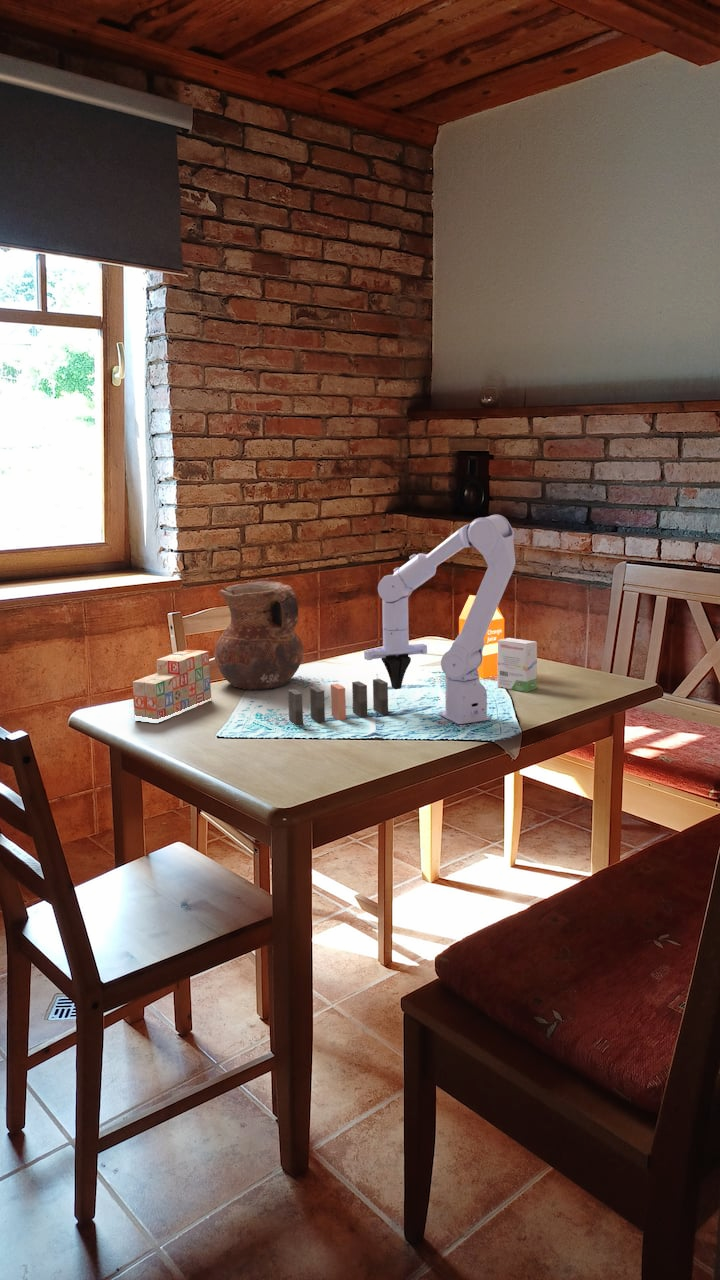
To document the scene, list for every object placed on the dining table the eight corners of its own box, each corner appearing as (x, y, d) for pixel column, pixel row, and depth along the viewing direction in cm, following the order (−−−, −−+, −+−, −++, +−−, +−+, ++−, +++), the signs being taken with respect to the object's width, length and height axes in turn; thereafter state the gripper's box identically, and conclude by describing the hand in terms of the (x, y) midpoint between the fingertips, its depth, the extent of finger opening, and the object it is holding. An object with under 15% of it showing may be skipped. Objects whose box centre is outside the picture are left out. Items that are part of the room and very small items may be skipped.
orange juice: (479, 668, 257) (479, 593, 253) (504, 674, 250) (505, 596, 247) (458, 673, 252) (458, 596, 249) (483, 679, 246) (483, 600, 242)
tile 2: (367, 716, 214) (366, 685, 213) (360, 717, 214) (360, 686, 212) (359, 711, 218) (358, 681, 217) (353, 712, 218) (352, 682, 216)
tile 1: (388, 713, 216) (387, 682, 215) (381, 714, 216) (381, 683, 214) (379, 708, 220) (379, 678, 219) (373, 709, 220) (372, 679, 218)
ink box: (537, 688, 235) (538, 640, 233) (526, 692, 232) (526, 644, 229) (508, 683, 241) (508, 636, 238) (496, 687, 237) (496, 639, 235)
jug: (205, 693, 237) (200, 591, 233) (228, 673, 258) (224, 579, 253) (295, 694, 234) (291, 591, 229) (311, 674, 255) (308, 579, 250)
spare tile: (345, 719, 213) (345, 687, 211) (339, 720, 212) (338, 688, 211) (338, 714, 217) (337, 683, 215) (331, 715, 216) (330, 684, 215)
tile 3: (325, 722, 211) (324, 690, 209) (318, 723, 210) (317, 691, 209) (317, 717, 215) (316, 686, 213) (310, 718, 214) (309, 687, 213)
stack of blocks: (158, 725, 212) (154, 670, 209) (134, 722, 214) (130, 667, 212) (212, 701, 231) (209, 650, 228) (189, 698, 233) (186, 648, 231)
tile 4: (303, 725, 209) (302, 693, 207) (296, 726, 208) (295, 694, 207) (296, 720, 213) (295, 689, 211) (289, 721, 212) (288, 690, 211)
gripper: (417, 622, 222) (417, 680, 225) (358, 628, 217) (359, 687, 219) (431, 627, 216) (431, 687, 219) (371, 633, 210) (372, 694, 213)
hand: (396, 688), depth 219 cm, fingers closed
